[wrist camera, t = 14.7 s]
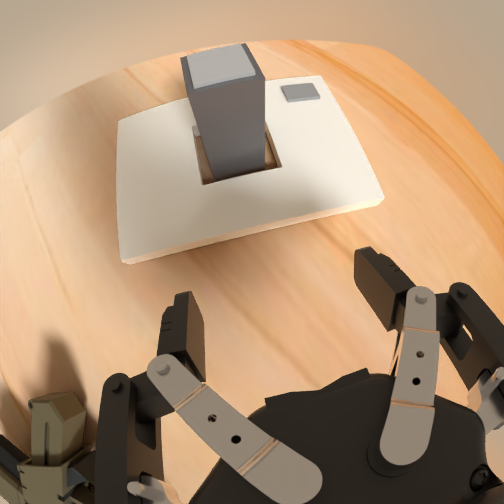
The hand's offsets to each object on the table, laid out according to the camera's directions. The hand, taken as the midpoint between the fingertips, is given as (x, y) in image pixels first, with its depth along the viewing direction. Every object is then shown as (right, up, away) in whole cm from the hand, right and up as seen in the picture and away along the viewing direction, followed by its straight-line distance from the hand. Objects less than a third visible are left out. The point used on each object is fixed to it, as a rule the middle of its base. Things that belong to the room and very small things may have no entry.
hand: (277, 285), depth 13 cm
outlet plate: (-3, +10, +9) cm, 13 cm away
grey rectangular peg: (-3, +9, +9) cm, 13 cm away
